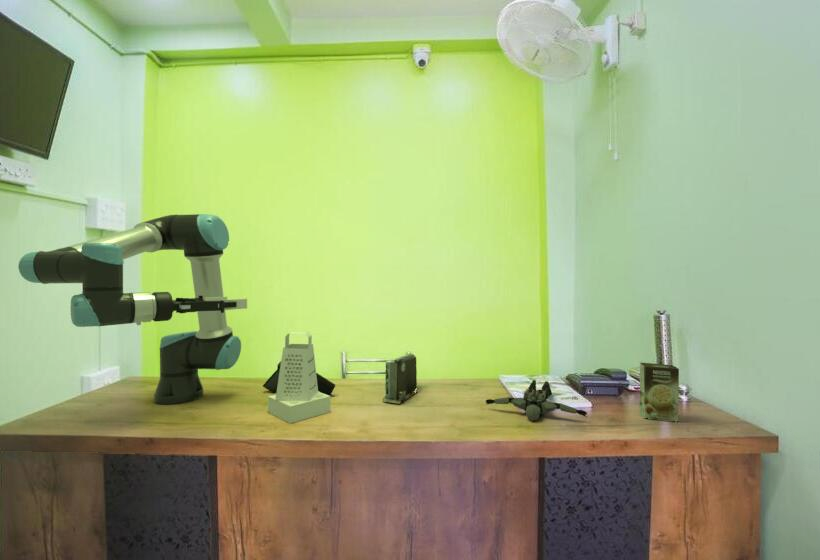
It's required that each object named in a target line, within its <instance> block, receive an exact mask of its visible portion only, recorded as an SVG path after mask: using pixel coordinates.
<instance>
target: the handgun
mask: <svg viewBox="0 0 820 560" xmlns="http://www.w3.org/2000/svg"><path fill="white" fill-rule="evenodd" d="M286 360H287V359H286ZM286 360H285V361H286ZM280 366H281V360H280V361H279V363H277V369H276V370H275V371H274V372H273V374H272V375H271V376H270V377H269V378H268V379H267V380H266V381H265V382H264V384H263V385H262V387H263V388H264V389H266V390H268V391H269V392H270V393H272V394H276V392H277V386H278V379H279V372H280ZM316 376H317V385H318V392H321V393H323V394H326V395H329V396H331V395H332V393H333V391H334V389H335V387H336V384H335V383H334V382H332V381H330V380H328V378H326V377H324V376H323V375H320V374H319V373H318V372H316Z"/></svg>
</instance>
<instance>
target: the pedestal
mask: <svg viewBox="0 0 820 560" xmlns="http://www.w3.org/2000/svg"><path fill="white" fill-rule="evenodd" d="M310 391H311V390H310ZM286 392H288V393H290V391H285V392H284V393H286ZM291 393H294V390H292V391H291ZM295 393H298V391H297V390H296V391H295ZM299 393H301V391H299ZM288 396H290V397H292V394H290V395H288V394H286V397H288ZM293 397H296V395H295V394H294V395H293ZM297 397H300V395H299V394H298V395H297ZM331 398H332V397H331V395H330V396H329V395H326V394H323V393H321V392H319V391H317V392H316V394H315V395H314V396H313V397H312V398H311V400H310V401H297V400H275V399H276V394H273V395H268V398H267V412H268V413H269V414H270V415H271V414H272V415H273V416H275V417H276V418H279V419H281V420H283V421H285V422H287V423H289V424H293V423H296V422H300V421H303V420H307V419H311V418H314V417H317V416H320V415H323V414H326V413H331Z"/></svg>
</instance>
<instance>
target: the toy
mask: <svg viewBox="0 0 820 560" xmlns="http://www.w3.org/2000/svg"><path fill="white" fill-rule="evenodd" d="M552 395H553V392H552V389H551V385H550V383H549V381H548V380H547V381H546V380H545V381H544V383H543V384H542V386H541V389H537V380H536V379H533V380H532V381H531V383H530V384H529V386H528V388H526V389H525V390H524V394H523V397H510V396H507V397H506V396H505V397H501V398H494V399H492V398H489V399H486V400H485V404H486V405H492V404H496V405H508V404H512V405H513V407H516V408H518V409H521V410H523V411H524V412H525V415H526V417H527V419H529V420H530V421H532V422H534V421H537V420H539V419H540V415H543V414H545V413H551V412H554V411H556V410H557V409H558V410H560V411H561V412H564V413H565V412H566V413H569V414H578V415H580V416H583V417H588V416H587V414H588V413H587V411H585V410H582V409H577V408H575V407H572V406H569V405H567V404H564V403H561V402H552V401H549V400H548V399H549V398H550V397H551V396H552Z"/></svg>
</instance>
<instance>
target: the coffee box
mask: <svg viewBox="0 0 820 560" xmlns="http://www.w3.org/2000/svg"><path fill="white" fill-rule="evenodd" d="M639 364H640V365H639V399H638V400H639V401H638V402H639V403H638V404H639V406H638V408H639V409H638V410H639V411H638V412H640V413H639V414H640V415H641V416H642V418H643V419H645V418H648V419H647V420H652V419H657V420H656V421H661V420H665V421H664V422H669V421H678V422H679V389H680V388H679V386H680V384H679V383H680V381H679V379H680V376H679V375H680V369H679V368H678V367H676V366H675V365H673V364H664V363H663V364H662V363H652V362H651V363H650V362H639Z"/></svg>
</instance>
